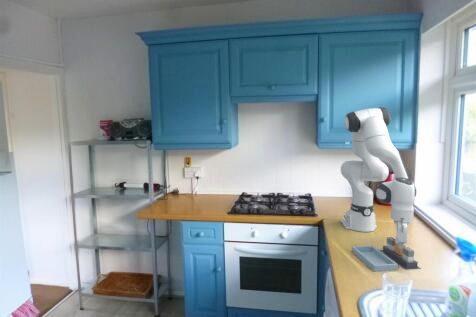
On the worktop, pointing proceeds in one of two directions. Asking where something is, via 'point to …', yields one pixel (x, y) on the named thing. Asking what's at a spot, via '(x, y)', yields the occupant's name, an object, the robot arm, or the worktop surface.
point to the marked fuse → (397, 250)
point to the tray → (374, 258)
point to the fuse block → (399, 259)
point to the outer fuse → (408, 254)
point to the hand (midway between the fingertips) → (400, 245)
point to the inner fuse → (391, 243)
